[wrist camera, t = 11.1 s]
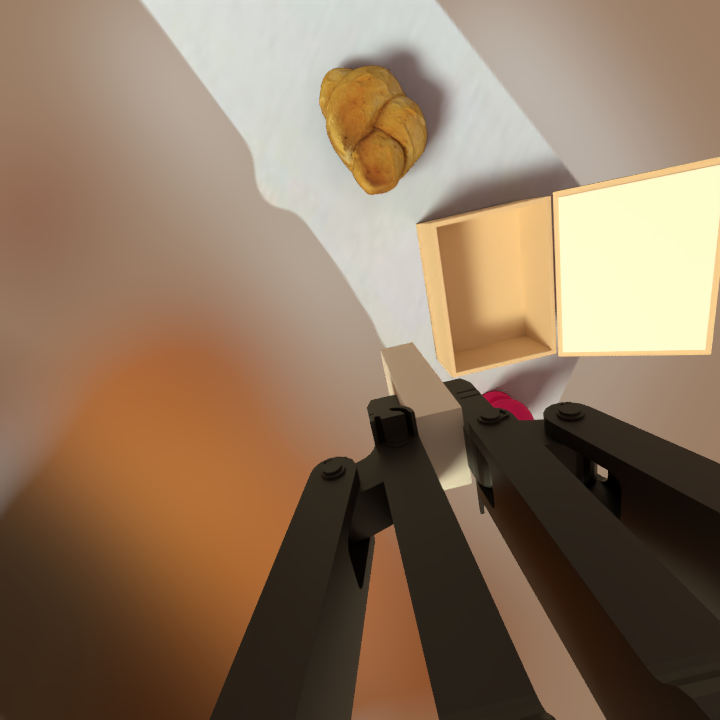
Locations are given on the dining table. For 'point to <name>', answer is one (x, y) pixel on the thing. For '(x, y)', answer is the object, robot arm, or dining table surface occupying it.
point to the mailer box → (490, 285)
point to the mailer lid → (639, 263)
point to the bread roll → (372, 125)
